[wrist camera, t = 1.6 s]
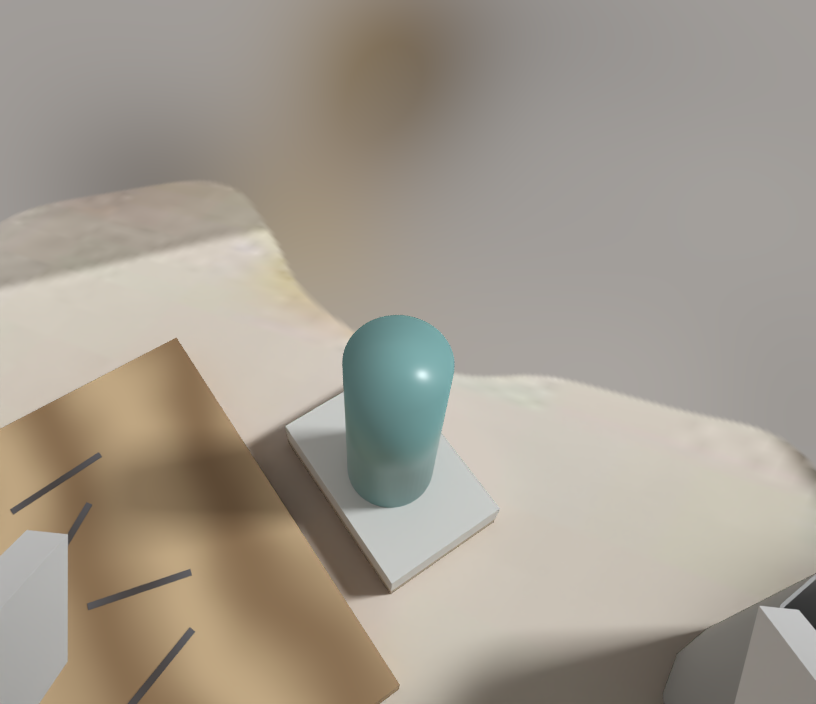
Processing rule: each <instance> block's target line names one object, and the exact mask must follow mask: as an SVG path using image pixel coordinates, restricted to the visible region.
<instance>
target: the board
mask: <svg viewBox="0 0 816 704" xmlns="http://www.w3.org/2000/svg"><path fill="white" fill-rule="evenodd" d="M26 530H32V531H41V532H51V533H61V534H68V662H67V663H66V665H65V666H64V668H63V669H62V671H61V672H60V674H59V675H58V676H57V678H56V679H55V681H54V682H53V684H52V685H51V687H50V688H49V690H48V691H47V693H46V694H45V696H44V697H43V699H42V700H41V702H40V703H39V704H380V703H381V702H382V701H384V700H385V699H386V698H388V697H389V696H390V695H392V694H393V693H394V692H396V691H397V690H398V689H399V686H400V684H399V683H398V681H397V680H396V678H395V677H394V675H393V674H392V672H391V670H390V669H389V667H388V666H387V664H386V663H385V661H384V660H383V658H382V657H381V655H380V653H379V652H378V650H377V649H376V647H375V646H374V644H373V643H372V641H371V639H370V638H369V636H368V635H367V633H366V632H365V630H364V629H363V627H362V625H361V624H360V622H359V621H358V619H357V618H356V616H355V615H354V613H353V611H352V610H351V608H350V607H349V605H348V604H347V602H346V601H345V599H344V597H343V596H342V594H341V593H340V591H339V590H338V588H337V587H336V585H335V583H334V582H333V580H332V579H331V577H330V576H329V574H328V573H327V571H326V569H325V568H324V566H323V565H322V563H321V562H320V560H319V559H318V557H317V555H316V554H315V552H314V551H313V549H312V548H311V546H310V545H309V543H308V541H307V540H306V538H305V537H304V535H303V534H302V532H301V531H300V529H299V527H298V526H297V524H296V523H295V521H294V520H293V518H292V517H291V515H290V514H289V512H288V510H287V509H286V507H285V506H284V504H283V503H282V501H281V500H280V498H279V496H278V495H277V493H276V492H275V490H274V489H273V487H272V486H271V484H270V482H269V481H268V479H267V478H266V476H265V475H264V473H263V472H262V470H261V468H260V467H259V465H258V464H257V462H256V461H255V459H254V458H253V456H252V454H251V453H250V451H249V450H248V448H247V447H246V445H245V444H244V442H243V440H242V439H241V437H240V436H239V434H238V433H237V431H236V430H235V428H234V426H233V425H232V423H231V422H230V420H229V419H228V417H227V416H226V414H225V412H224V411H223V409H222V408H221V406H220V405H219V403H218V402H217V400H216V398H215V397H214V395H213V394H212V392H211V391H210V389H209V388H208V386H207V384H206V383H205V381H204V380H203V378H202V377H201V375H200V374H199V372H198V370H197V369H196V367H195V366H194V364H193V363H192V361H191V360H190V358H189V357H188V355H187V353H186V352H185V350H184V349H183V347H182V346H181V344H180V343H179V341H178V339H177V338H175V339H173V340H171V341H169V342H167V343H165V344H163V345H161V346H159V347H157V348H155V349H153V350H152V351H150V352H148V353H146V354H144V355H142V356H140V357H138V358H136V359H134V360H132V361H130V362H128V363H126V364H125V365H123V366H121V367H119V368H117V369H115V370H113V371H111V372H109V373H107V374H105V375H103V376H101V377H99V378H97V379H96V380H94V381H92V382H90V383H88V384H86V385H84V386H82V387H80V388H78V389H76V390H74V391H72V392H70V393H68V394H67V395H65V396H63V397H61V398H59V399H57V400H55V401H53V402H51V403H49V404H47V405H45V406H43V407H41V408H40V409H38V410H36V411H34V412H32V413H30V414H28V415H26V416H24V417H22V418H20V419H18V420H16V421H14V422H12V423H11V424H9V425H7V426H5V427H3V428H1V429H0V556H1V555H2V554H3V553H4V552H5V551H6V550H7V549H8V548H9V547H10V546H11V545H12V544H13V543H14V542H15V541H16V540H17V539H18V538H19V537H20V536H21V535H22V534H23V533H24V532H25V531H26Z"/></svg>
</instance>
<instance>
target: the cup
mask: <svg viewBox="0 0 816 704" xmlns="http://www.w3.org/2000/svg"><path fill="white" fill-rule="evenodd" d="M759 606H767V607H776V608H786V609H796V610H799V611H800V612H801V613H802V614H803V616H804V617H805V618H806V619H807V620H808V622H809V623H810V624H811V625H812V626H813V628H814V629H815V630H816V573H815V574H813V575H811V576H810V577H808V578H806V579H804V580H802V581H800V582H798V583H796V584H794V585H792V586H790V587H788V588H786V589H784V590H782V591H780V592H778V593H776V594H774V595H772V596H770V597H768V598H766V599H764V600H762V601H760V602H758V603H756V604H754V605H752V606H750V607H748V608H746V609H745V610H743V611H741V612H739V613H737V614H735V615H733V616H731V617H729V618H727V619H725V620H723V621H721V622H719V623H717V624H715V625H713V626H711V627H709V628H707V629H706V630H705V631H703V632H702V633H701V634H700V635H699V636H697V637H696V638H695V639H694V640H693V641H692V642H690V643H689V644H688V645H687V646H686V647H684V648H683V649H682V650H681V651H680V652H679V653H677V656H676V658H675V661H674V664H673V667H672V670H671V672H670V675H669V678H668V681H667V683H666V686H665V689H664V692H663V700H664V704H734V703H735V699H736V695H737V691H738V687H739V683H740V679H741V675H742V671H743V668H744V664H745V660H746V656H747V652H748V648H749V644H750V640H751V636H752V632H753V628H754V624H755V620H756V616H757V612H758V608H759Z"/></svg>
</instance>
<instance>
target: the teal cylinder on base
mask: <svg viewBox="0 0 816 704" xmlns="http://www.w3.org/2000/svg"><path fill="white" fill-rule="evenodd" d="M342 366H343V387H344V392H342V393H341V394H339V395H337V396H335V397H334V398H332V399H330V400H329V401H327V402H325V403H323V404H322V405H320V406H318V407H317V408H315V409H313V410H312V411H310V412H308V413H306V414H305V415H303V416H301V417H300V418H298V419H296V420H294V421H293V422H291V423H289V424H288V425H286V426H285V427H286V432H287V437H288V442H289V444H290V445H291V447H292V448H293V450H294V451H295V453H296V454H297V456H298V457H299V459H300V460H301V461H302V463H303V464H304V466H305V467H306V469H307V470H308V472H309V473H310V475H311V476H312V478H313V479H314V481H315V482H316V484H317V485H318V487H319V488H320V490H321V491H322V493H323V494H324V496H325V497H326V499H327V500H328V502H329V503H330V505H331V506H332V508H333V509H334V511H335V512H336V514H337V515H338V517H339V518H340V520H341V521H342V522H343V524H344V525H345V527H346V528H347V530H348V531H349V533H350V534H351V536H352V537H353V539H354V540H355V542H356V543H357V545H358V546H359V548H360V549H361V551H362V552H363V554H364V555H365V557H366V558H367V560H368V561H369V563H370V564H371V566H372V567H373V569H374V570H375V572H376V573H377V575H378V576H379V578H380V579H381V581H382V582H383V583H384V585H385V586H386V588H387V589H388V591H389V592H390V594H392V593H393V592H394V591H396V590H397V589H399V588H400V587H402V586H403V585H404V584H406V583H407V582H409V581H410V580H411V579H413V578H414V577H416V576H417V575H419V574H420V573H421V572H423V571H424V570H426V569H427V568H429V567H430V566H431V565H433V564H434V563H436V562H437V561H439V560H440V559H441V558H443V557H444V556H446V555H447V554H449V553H450V552H451V551H453V550H454V549H456V548H457V547H459V546H460V545H461V544H463V543H464V542H466V541H467V540H469V539H470V538H471V537H473V536H474V535H476V534H477V533H479V532H480V531H481V530H483V529H484V528H486V527H487V526H489V525H490V524H491V523H493V522H494V520H495V518H496V516H497V514H498V512H499V509H500V508H499V507H498V505H497V504H496V503H495V502H494V500H493V499H492V498H491V496H490V495H489V494H488V493H487V491H486V490H485V489H484V487H483V486H482V485H481V483H480V482H479V481H478V480H477V478H476V477H475V476H474V474H473V473H472V472H471V471H470V469H469V468H468V467H467V465H466V464H465V463H464V462H463V460H462V459H461V458H460V456H459V455H458V454H457V452H456V451H455V450H454V449H453V447H452V446H451V445H450V443H449V442H448V441H447V440H446V438H445V437H444V436H443V434H442V433H441V431H442V426H443V422H444V417H445V412H446V407H447V403H448V398H449V393H450V388H451V384H452V379H453V374H454V357H453V352H452V350H451V347H450V345H449V343H448V341H447V340H446V339H445V337H444V336H443V335H442V334H441V333H440V332H439V331H438V330H437V329H436V328H434V326H432V325H430V324H429V323H427V322H425V321H423V320H420V319H418V318H415V317H410V316H404V315H391V316H384V317H380V318H377V319H374V320H372V321H370V322H368V323H366V324H365V325H363V326H362V327H360V328H359V329H358V330H357V331H356V332H355V333H354V334H353V335H352V337H351V338H350V339H349V341H348V343H347V345H346V347H345V350H344V354H343V364H342Z"/></svg>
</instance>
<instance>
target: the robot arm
mask: <svg viewBox="0 0 816 704" xmlns="http://www.w3.org/2000/svg"><path fill="white" fill-rule="evenodd" d="M67 662H68V534H61V533H51V532H41V531H32V530H26V531H25V532H24V533H23V534H22V535H21V536H20V537H19V538H18V539H17V540H16V541H15V542H14V543H13V544H12V545H11V546H10V547H9V548H8V549H7V550H6V551H5V552H4V553H3V554H2V555H1V556H0V704H39V703H40V702H41V700H42V699H43V697H44V696H45V694H46V693H47V691H48V690H49V688H50V687H51V685H52V684H53V682H54V681H55V679H56V678H57V676H58V675H59V674H60V672H61V671H62V669H63V668H64V666H65V665H66V663H67ZM734 704H816V630H815V629H814V628H813V626H812V625H811V624H810V623H809V622H808V620H807V619H806V618H805V617H804V616H803V614H802V613H801V612H800V611H799V610H796V609H786V608H776V607H767V606H759V608H758V612H757V616H756V620H755V624H754V628H753V632H752V636H751V640H750V644H749V648H748V652H747V656H746V660H745V664H744V668H743V671H742V675H741V679H740V683H739V687H738V691H737V695H736V699H735V703H734Z"/></svg>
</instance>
